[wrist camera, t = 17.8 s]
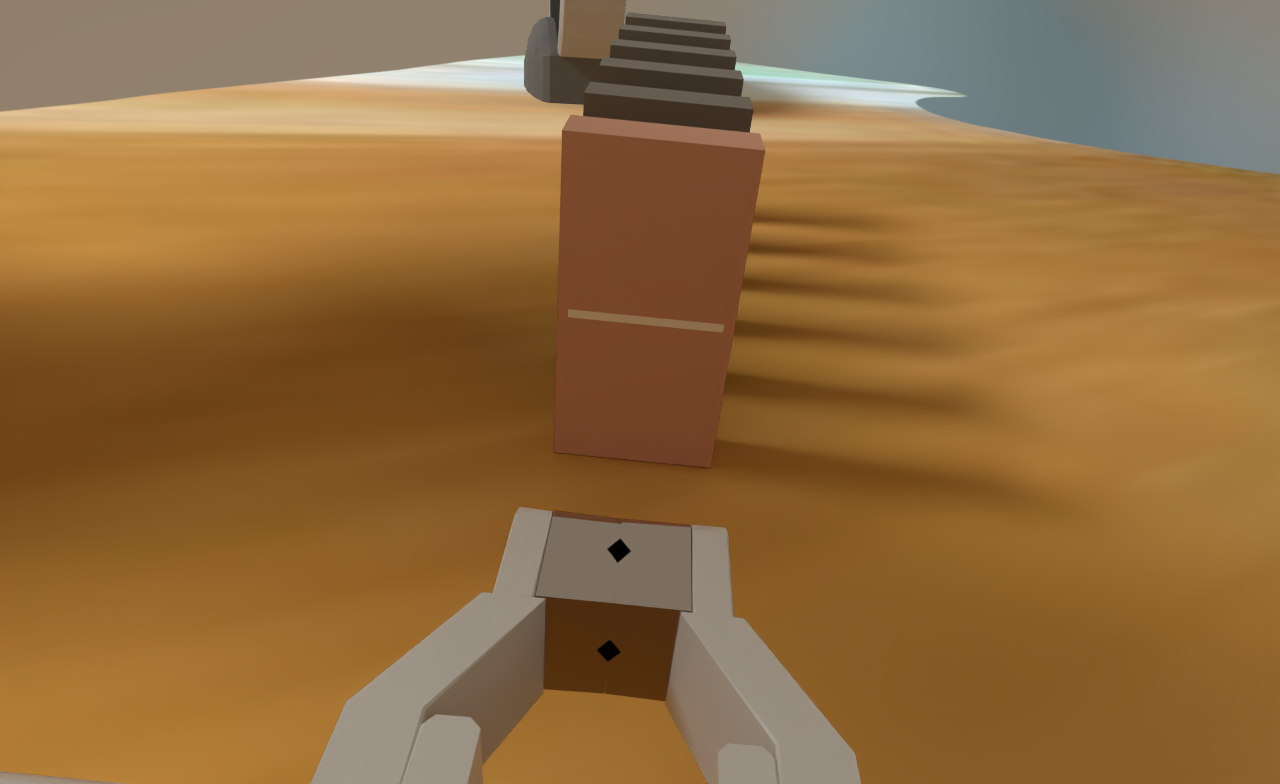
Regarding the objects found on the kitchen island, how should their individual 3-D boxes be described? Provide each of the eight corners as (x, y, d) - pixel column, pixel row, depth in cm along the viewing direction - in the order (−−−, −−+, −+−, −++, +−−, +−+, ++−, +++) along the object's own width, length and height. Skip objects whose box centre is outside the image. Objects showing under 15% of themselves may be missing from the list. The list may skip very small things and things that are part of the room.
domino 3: (705, 333, 31) (743, 79, 26) (586, 321, 31) (599, 65, 26) (704, 315, 33) (740, 70, 27) (590, 304, 33) (603, 56, 27)
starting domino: (710, 468, 24) (765, 150, 18) (554, 452, 24) (562, 130, 18) (709, 437, 25) (759, 133, 20) (561, 422, 25) (570, 114, 20)
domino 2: (708, 392, 28) (753, 109, 22) (572, 378, 28) (584, 92, 22) (706, 369, 29) (749, 97, 23) (577, 356, 29) (590, 81, 23)
